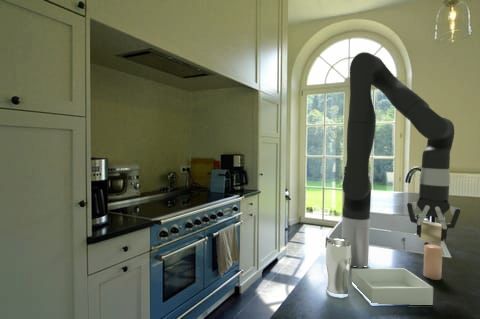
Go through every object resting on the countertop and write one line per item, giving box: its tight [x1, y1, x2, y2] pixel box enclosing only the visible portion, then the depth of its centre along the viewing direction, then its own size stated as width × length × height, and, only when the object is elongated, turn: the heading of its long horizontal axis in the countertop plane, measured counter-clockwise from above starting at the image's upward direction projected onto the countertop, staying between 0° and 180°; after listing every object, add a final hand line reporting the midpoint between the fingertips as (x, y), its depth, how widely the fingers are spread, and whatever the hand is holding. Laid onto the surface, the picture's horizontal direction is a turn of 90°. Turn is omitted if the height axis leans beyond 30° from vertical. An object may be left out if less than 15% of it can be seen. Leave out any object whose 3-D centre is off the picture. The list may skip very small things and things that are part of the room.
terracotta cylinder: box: [422, 243, 443, 281], centre depth 99 cm, size 5×5×10 cm
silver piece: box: [325, 238, 351, 294], centre depth 86 cm, size 7×7×15 cm
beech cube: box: [420, 220, 442, 245], centre depth 90 cm, size 5×5×5 cm
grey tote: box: [351, 267, 434, 305], centre depth 86 cm, size 17×13×5 cm
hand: (431, 238), depth 90 cm, fingers closed on beech cube, 5 cm apart
